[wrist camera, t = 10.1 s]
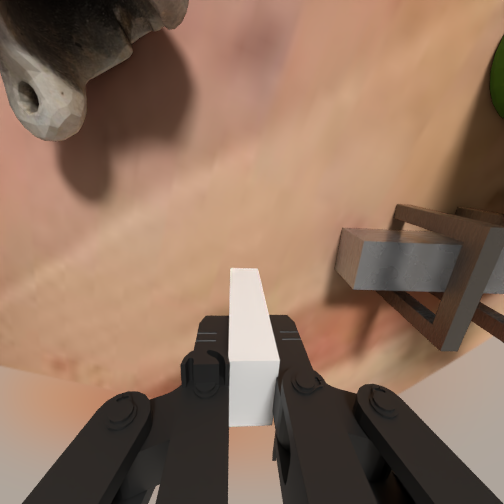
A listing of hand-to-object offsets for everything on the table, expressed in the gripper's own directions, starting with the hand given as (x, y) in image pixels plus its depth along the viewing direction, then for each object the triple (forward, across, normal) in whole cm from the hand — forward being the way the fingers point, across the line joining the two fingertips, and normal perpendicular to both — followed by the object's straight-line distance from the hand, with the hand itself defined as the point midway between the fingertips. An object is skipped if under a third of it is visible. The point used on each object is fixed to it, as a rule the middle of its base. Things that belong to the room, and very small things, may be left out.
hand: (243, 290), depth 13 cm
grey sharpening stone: (+8, +17, 0) cm, 19 cm away
